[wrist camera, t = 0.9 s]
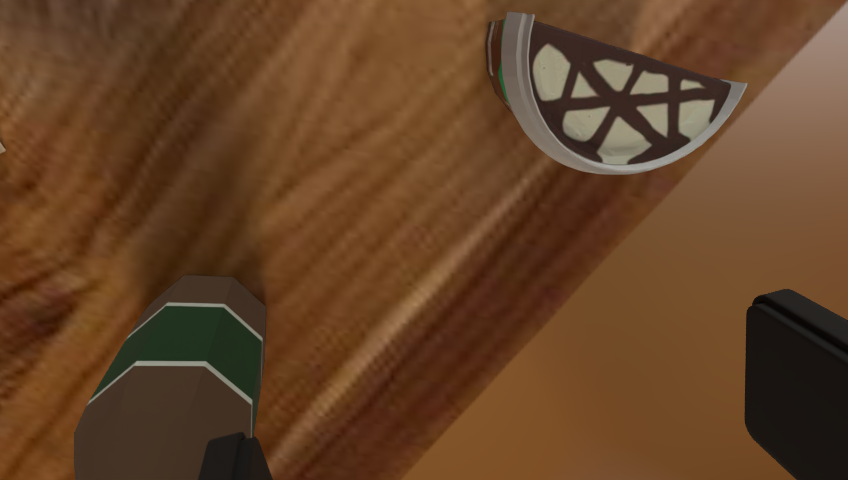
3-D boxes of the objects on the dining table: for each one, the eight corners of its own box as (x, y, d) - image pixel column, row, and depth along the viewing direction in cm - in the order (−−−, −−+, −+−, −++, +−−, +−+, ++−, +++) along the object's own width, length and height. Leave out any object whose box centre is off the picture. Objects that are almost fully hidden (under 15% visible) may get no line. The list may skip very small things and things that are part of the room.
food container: (437, 118, 36) (479, 150, 27) (466, 14, 34) (521, 10, 25) (612, 164, 39) (705, 207, 30) (647, 71, 37) (757, 86, 28)
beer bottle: (242, 391, 40) (154, 847, 18) (126, 351, 38) (-145, 820, 15) (292, 296, 38) (261, 668, 16) (173, 248, 36) (-56, 608, 14)
